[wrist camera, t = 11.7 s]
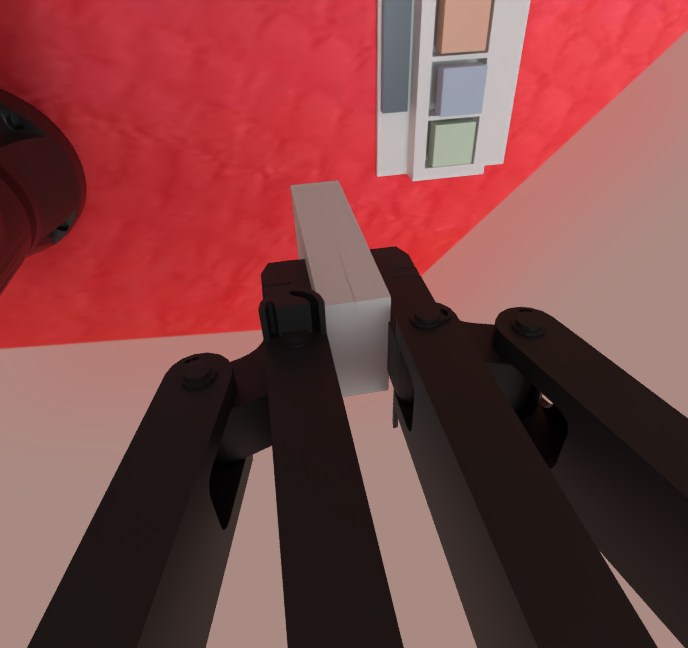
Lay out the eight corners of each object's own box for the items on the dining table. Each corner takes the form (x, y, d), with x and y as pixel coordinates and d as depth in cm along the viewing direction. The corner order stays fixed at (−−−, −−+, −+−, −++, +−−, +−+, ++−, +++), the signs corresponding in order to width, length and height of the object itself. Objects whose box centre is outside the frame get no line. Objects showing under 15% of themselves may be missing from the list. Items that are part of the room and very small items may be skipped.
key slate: (431, 110, 46) (440, 117, 44) (434, 63, 44) (444, 68, 42) (471, 106, 47) (481, 113, 45) (476, 60, 44) (487, 65, 42)
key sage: (425, 158, 50) (432, 167, 48) (427, 118, 47) (435, 125, 46) (461, 155, 50) (470, 163, 48) (466, 114, 48) (476, 121, 46)
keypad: (376, 174, 51) (382, 184, 49) (377, -102, 37) (385, -105, 35) (500, 161, 53) (512, 170, 50) (544, -108, 39) (563, -111, 37)
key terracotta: (432, 49, 44) (441, 53, 42) (435, -4, 41) (445, -2, 39) (474, 46, 44) (485, 50, 42) (480, -7, 42) (492, -5, 40)
